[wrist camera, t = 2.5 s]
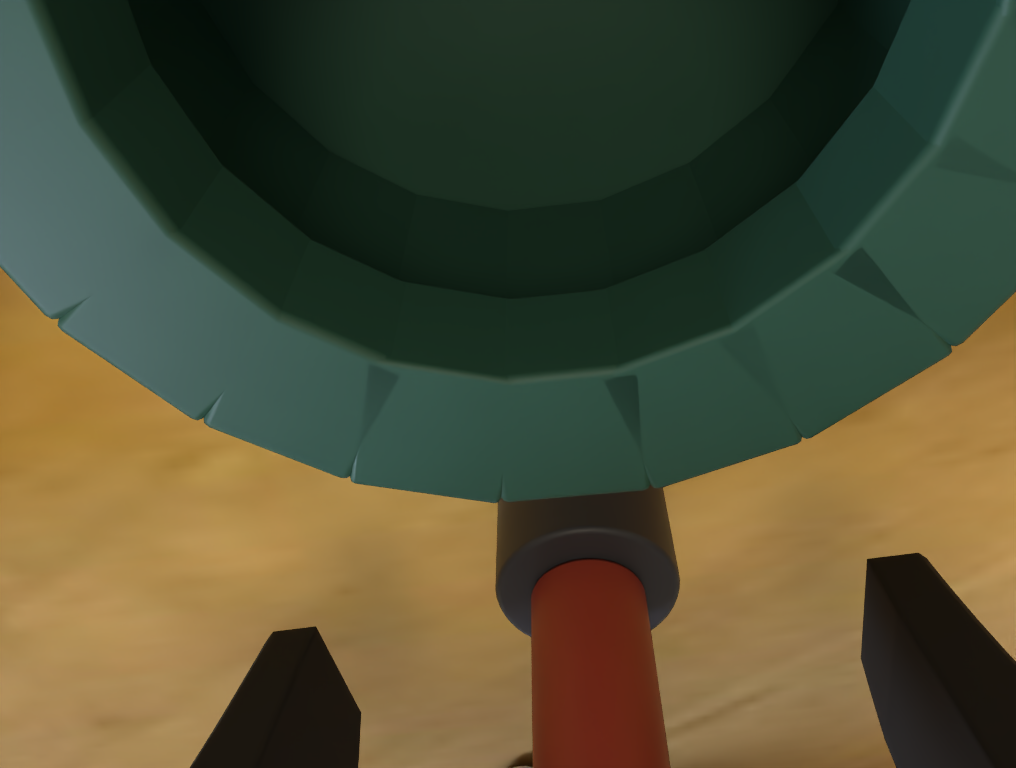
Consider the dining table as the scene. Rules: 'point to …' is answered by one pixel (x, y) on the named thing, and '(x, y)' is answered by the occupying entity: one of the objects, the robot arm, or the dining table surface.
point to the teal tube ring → (512, 220)
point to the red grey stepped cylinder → (590, 622)
